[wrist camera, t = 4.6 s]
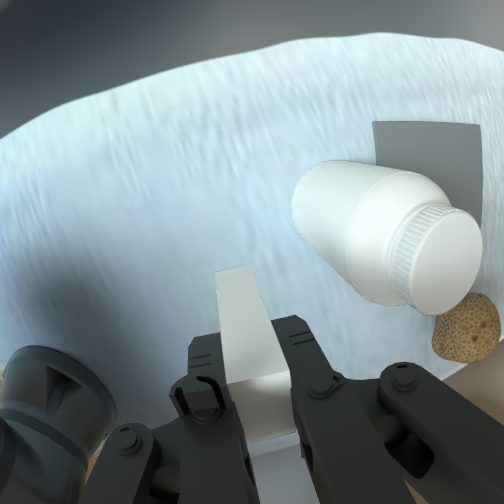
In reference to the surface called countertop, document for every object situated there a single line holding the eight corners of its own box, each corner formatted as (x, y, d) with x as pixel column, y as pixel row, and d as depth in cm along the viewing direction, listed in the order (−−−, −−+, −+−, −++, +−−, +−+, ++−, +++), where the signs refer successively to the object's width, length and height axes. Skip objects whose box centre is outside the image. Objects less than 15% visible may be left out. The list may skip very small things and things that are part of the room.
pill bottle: (331, 139, 24) (465, 146, 10) (384, 203, 26) (509, 258, 12) (268, 206, 25) (350, 285, 11) (328, 264, 28) (425, 364, 14)
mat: (380, 264, 29) (382, 266, 28) (372, 121, 24) (374, 121, 23) (477, 236, 30) (479, 237, 30) (477, 124, 25) (479, 125, 25)
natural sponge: (474, 276, 32) (525, 309, 23) (453, 332, 35) (495, 371, 26) (431, 277, 31) (489, 318, 21) (410, 341, 33) (454, 389, 24)
